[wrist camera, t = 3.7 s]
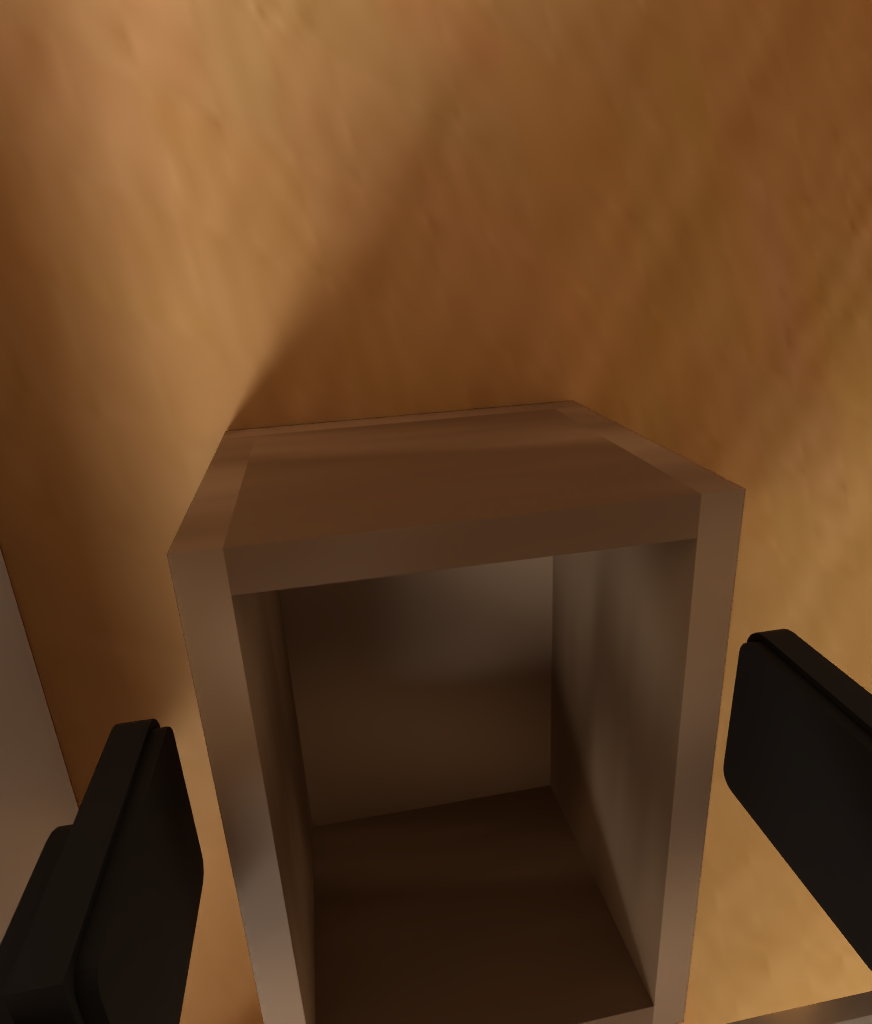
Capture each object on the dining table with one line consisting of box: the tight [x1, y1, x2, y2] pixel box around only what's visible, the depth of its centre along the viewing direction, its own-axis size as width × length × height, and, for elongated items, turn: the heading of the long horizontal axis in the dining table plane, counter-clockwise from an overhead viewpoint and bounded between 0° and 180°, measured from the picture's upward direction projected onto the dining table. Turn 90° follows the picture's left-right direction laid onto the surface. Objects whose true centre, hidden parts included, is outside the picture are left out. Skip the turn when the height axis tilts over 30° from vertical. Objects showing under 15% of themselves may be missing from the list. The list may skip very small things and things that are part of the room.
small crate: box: [167, 401, 746, 1024], centre depth 13 cm, size 10×7×6 cm
